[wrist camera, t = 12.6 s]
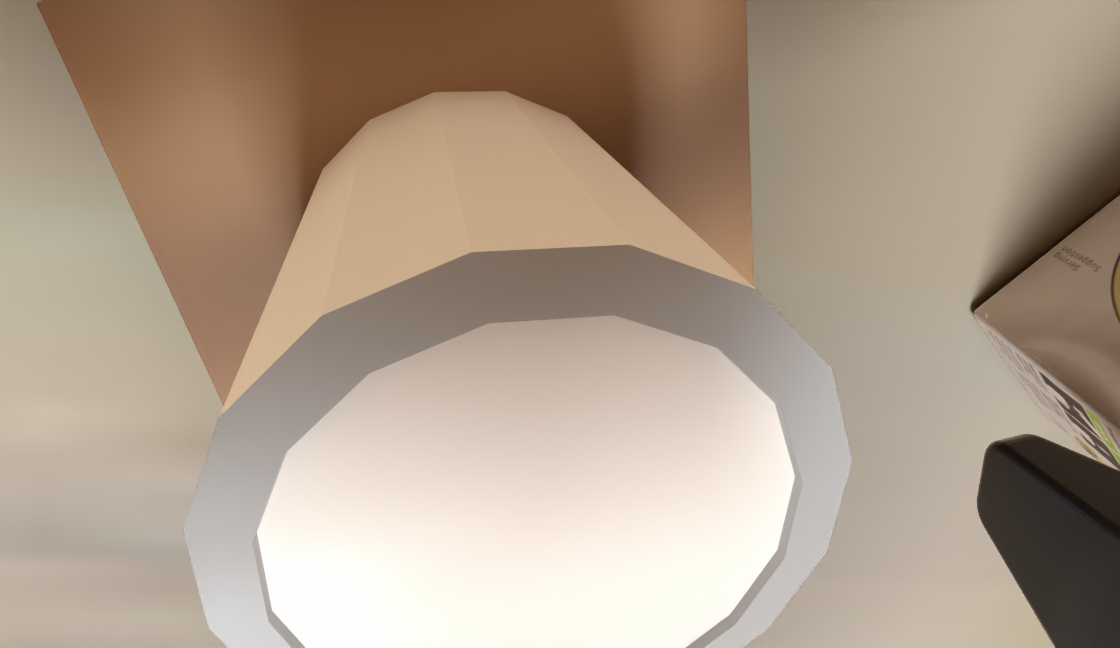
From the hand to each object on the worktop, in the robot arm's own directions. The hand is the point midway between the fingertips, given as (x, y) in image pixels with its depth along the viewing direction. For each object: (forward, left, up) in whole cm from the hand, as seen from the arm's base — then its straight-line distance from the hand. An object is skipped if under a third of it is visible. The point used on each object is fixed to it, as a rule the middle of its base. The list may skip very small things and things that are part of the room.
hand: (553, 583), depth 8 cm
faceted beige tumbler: (0, 0, -8) cm, 8 cm away
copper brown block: (0, 0, -12) cm, 12 cm away
